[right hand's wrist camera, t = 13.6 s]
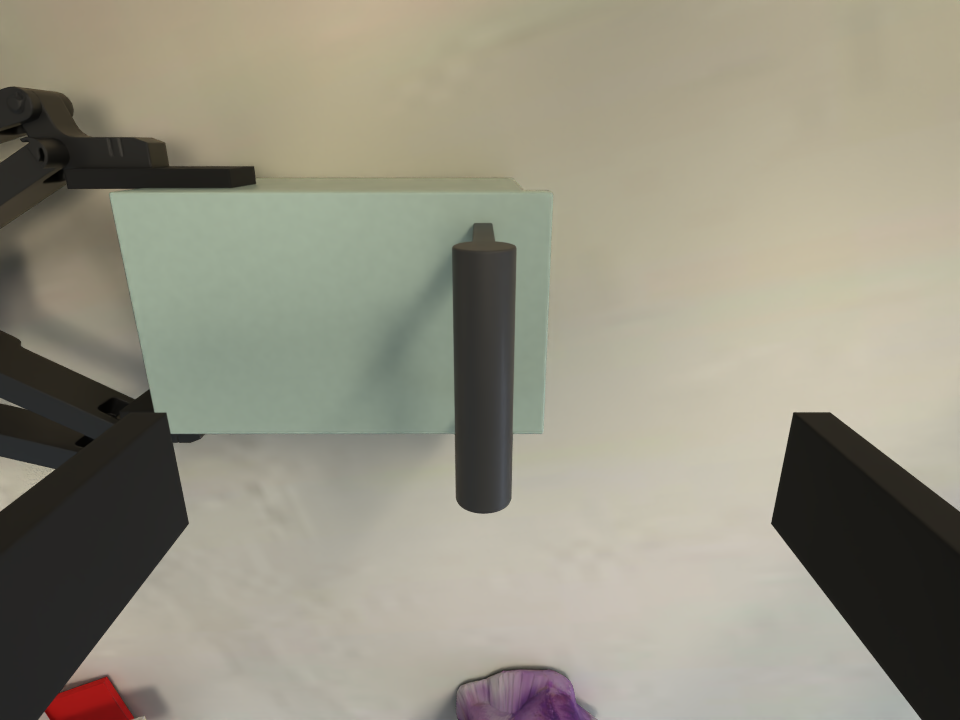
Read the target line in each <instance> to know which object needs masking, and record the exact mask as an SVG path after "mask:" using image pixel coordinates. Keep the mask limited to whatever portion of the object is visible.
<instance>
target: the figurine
mask: <svg viewBox="0 0 960 720" xmlns="http://www.w3.org/2000/svg"><path fill="white" fill-rule="evenodd" d="M456 699H457V701H456V702H457V703H456V705H457V706H456V714H457V718H458V720H597V719H596V718H595V717H594V716H592V715H591V714H590V713H589V712H587V711H586V710H584V709H583V708H582V707H580V706H579V705H578V704H577V703H576V700H575V694H574V689H573V686H572V684H571V682H570V681H569V680H568V679H567V678H566V677H565V676H563V675H561V674H559V673H558V672H556V671H553V670H549V669H548V670H520V669H519V670H509V671H504V670H503V671H502V672H500V673H497V674H494V675H492V676H490V677H488V678H487V679H482V680H480V681H474V682H469V683H467V684H464V685H461V686H460V687H459V690H457V698H456Z"/></svg>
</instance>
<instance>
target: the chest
mask: <svg viewBox="0 0 960 720" xmlns="http://www.w3.org/2000/svg"><path fill="white" fill-rule="evenodd" d="M132 190H523V189H522V188H521V186H520V185H519V184H518V183H517V182H516V181H515V180H514V179H513V178H256V184H253V185H247V186H241V187H235V188H140V189H132Z"/></svg>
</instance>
